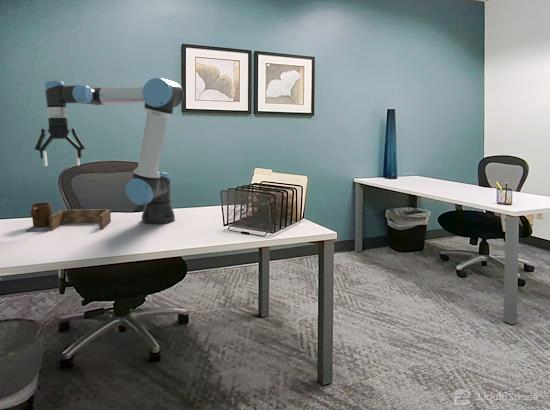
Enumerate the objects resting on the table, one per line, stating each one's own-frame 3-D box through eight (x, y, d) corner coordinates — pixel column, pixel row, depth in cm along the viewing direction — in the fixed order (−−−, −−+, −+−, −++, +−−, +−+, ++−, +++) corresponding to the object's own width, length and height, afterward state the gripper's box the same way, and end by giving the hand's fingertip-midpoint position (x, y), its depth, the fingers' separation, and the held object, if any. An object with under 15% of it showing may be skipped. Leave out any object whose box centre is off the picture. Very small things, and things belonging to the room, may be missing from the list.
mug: (42, 229, 182) (40, 207, 180) (24, 229, 182) (22, 207, 180) (55, 223, 194) (54, 202, 192) (38, 223, 194) (36, 202, 192)
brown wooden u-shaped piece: (110, 221, 202) (110, 209, 200) (102, 229, 187) (102, 215, 186) (62, 222, 199) (61, 209, 197) (49, 230, 184) (48, 216, 183)
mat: (58, 224, 195) (58, 223, 195) (47, 231, 182) (47, 229, 182) (37, 224, 194) (37, 223, 194) (25, 231, 181) (25, 230, 181)
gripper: (89, 117, 197) (93, 164, 200) (30, 117, 192) (35, 165, 196) (85, 117, 189) (89, 165, 193) (23, 117, 185) (28, 167, 189)
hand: (62, 165), depth 195 cm, fingers open, 13 cm apart
